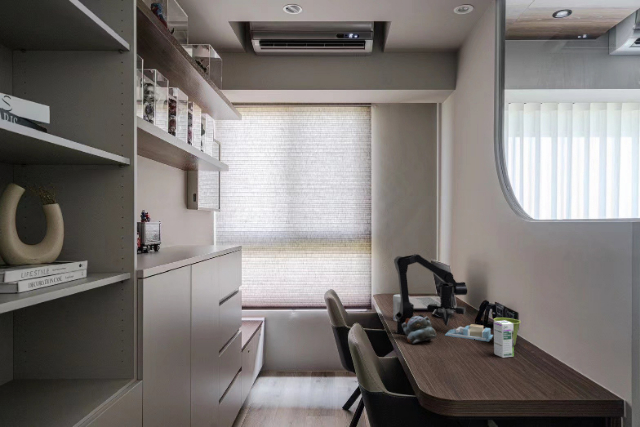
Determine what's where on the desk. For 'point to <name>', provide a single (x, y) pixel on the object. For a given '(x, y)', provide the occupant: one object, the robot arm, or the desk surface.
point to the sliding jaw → (464, 330)
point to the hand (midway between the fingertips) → (446, 325)
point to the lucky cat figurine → (418, 329)
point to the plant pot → (515, 325)
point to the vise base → (485, 336)
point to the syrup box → (503, 339)
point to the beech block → (476, 330)
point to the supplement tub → (396, 305)
